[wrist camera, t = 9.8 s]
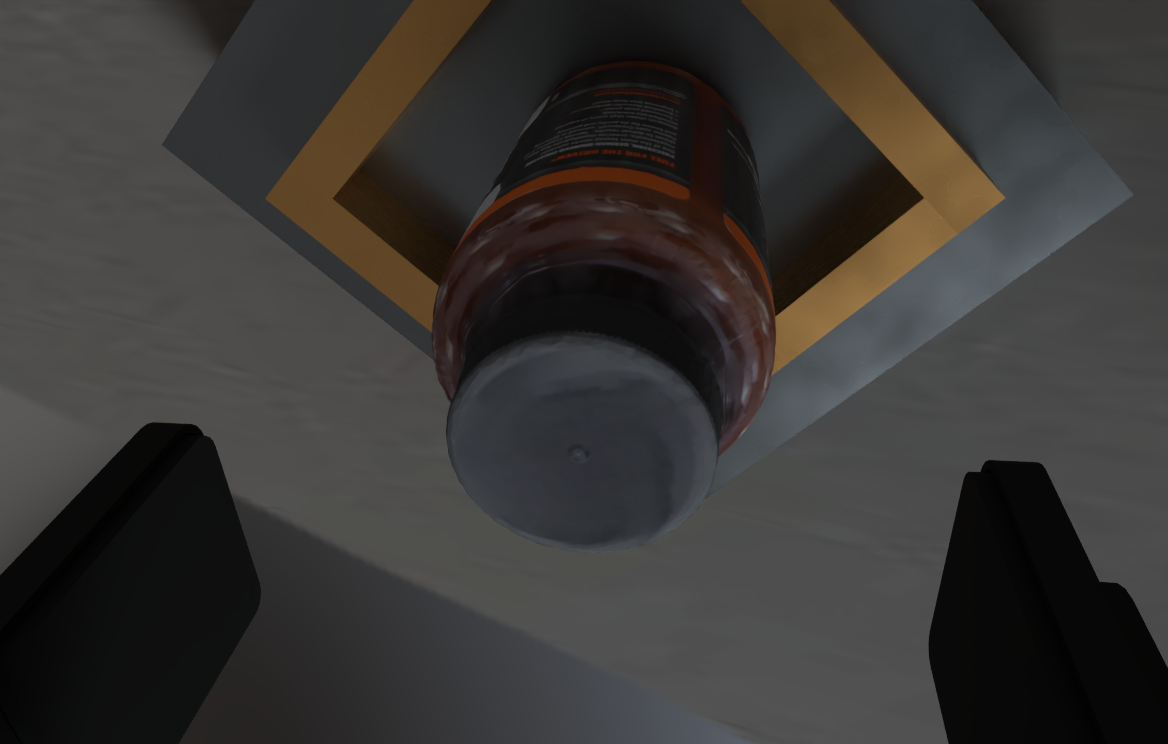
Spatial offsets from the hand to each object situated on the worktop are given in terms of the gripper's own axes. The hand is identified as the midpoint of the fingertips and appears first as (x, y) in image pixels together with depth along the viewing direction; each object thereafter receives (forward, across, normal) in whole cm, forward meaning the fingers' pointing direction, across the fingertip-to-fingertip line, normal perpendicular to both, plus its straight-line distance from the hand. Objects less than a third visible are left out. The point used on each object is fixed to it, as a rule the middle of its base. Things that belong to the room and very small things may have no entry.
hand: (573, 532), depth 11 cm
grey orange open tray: (+18, +2, -2) cm, 18 cm away
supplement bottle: (+13, 0, 0) cm, 13 cm away
